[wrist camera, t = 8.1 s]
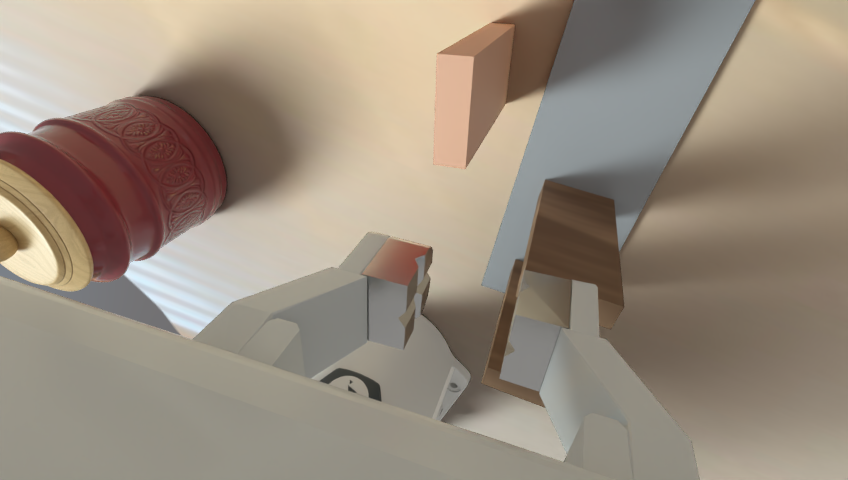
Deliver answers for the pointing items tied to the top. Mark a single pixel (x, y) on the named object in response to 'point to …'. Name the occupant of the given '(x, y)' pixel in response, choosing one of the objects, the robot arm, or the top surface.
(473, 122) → the domino
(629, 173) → the mat
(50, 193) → the canister
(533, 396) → the domino
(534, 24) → the top surface
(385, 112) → the top surface
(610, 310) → the domino
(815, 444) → the top surface
